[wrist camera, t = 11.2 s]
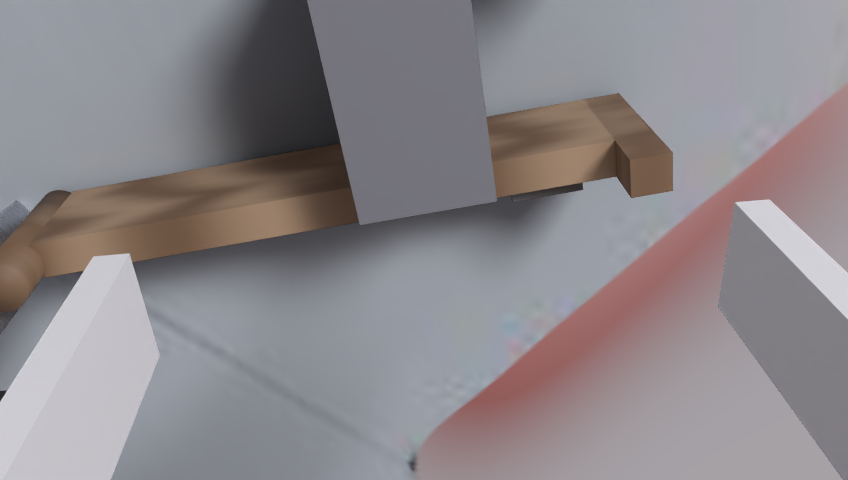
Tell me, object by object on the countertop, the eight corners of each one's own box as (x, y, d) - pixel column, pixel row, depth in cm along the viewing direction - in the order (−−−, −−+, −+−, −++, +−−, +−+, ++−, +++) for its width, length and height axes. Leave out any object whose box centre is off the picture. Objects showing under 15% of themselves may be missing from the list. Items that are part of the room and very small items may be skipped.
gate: (56, 242, 36) (-9, 328, 30) (34, 194, 34) (-39, 274, 28) (620, 141, 35) (672, 209, 29) (618, 89, 34) (672, 147, 28)
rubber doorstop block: (362, 134, 35) (360, 225, 27) (312, -98, 30) (290, -70, 22) (469, 115, 34) (497, 201, 27) (435, -121, 30) (458, -101, 22)
